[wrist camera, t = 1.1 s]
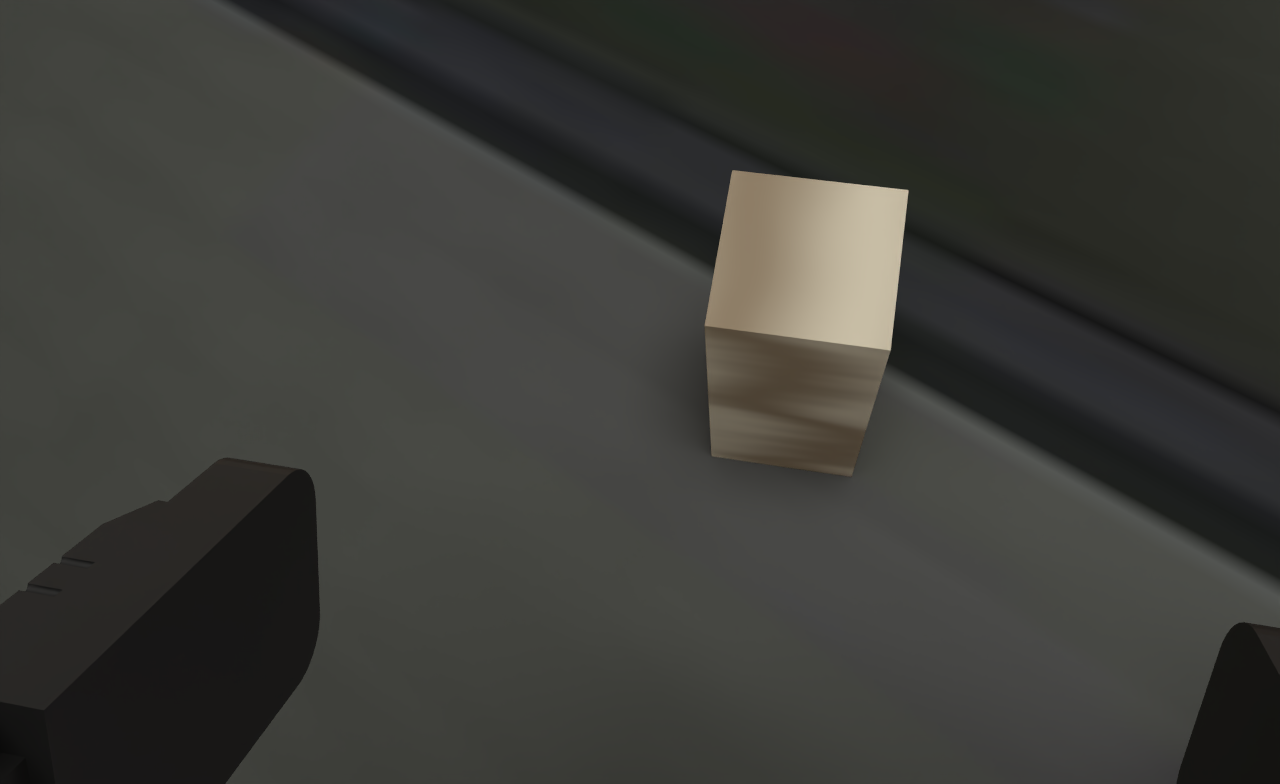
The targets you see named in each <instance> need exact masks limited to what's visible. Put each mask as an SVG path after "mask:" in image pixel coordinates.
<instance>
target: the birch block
mask: <svg viewBox="0 0 1280 784" xmlns="http://www.w3.org/2000/svg"><path fill="white" fill-rule="evenodd" d="M907 198H908V190H901V189H893V188H884V187H875V186H866V185H857V184H848V183H840V182H831V181H822V180H813V179H804V178H795V177H787V176H778V175H769V174H760V173H751V172H742V171H734V170H732V175H731V181H730V187H729V192H728V198H727V203H726V209H725V215H724V220H723V226H722V232H721V237H720V243H719V248H718V254H717V260H716V265H715V271H714V276H713V282H712V288H711V293H710V299H709V304H708V310H707V316H706V321H705V341H706V360H707V378H708V397H709V416H710V435H711V454H712V456H713V457H720V458H727V459H733V460H740V461H747V462H754V463H760V464H767V465H774V466H781V467H787V468H794V469H801V470H808V471H814V472H821V473H828V474H835V475H841V476H848V477H852V474H853V471H854V467H855V464H856V461H857V458H858V454H859V451H860V448H861V445H862V441H863V438H864V435H865V432H866V428H867V425H868V422H869V419H870V415H871V412H872V409H873V406H874V402H875V399H876V396H877V393H878V389H879V386H880V383H881V380H882V376H883V373H884V370H885V367H886V363H887V360H888V357H889V354H890V350H891V342H892V333H893V324H894V315H895V306H896V297H897V288H898V279H899V270H900V261H901V252H902V243H903V234H904V225H905V216H906V207H907Z"/></svg>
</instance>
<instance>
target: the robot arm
mask: <svg viewBox="0 0 1280 784" xmlns="http://www.w3.org/2000/svg"><path fill="white" fill-rule="evenodd" d="M319 621H320V603H319V577H318V550H317V523H316V498H315V489H314V484H313V482H312V479H311V477H310V475H309V474H308V473H307V472H306V471H304V470H302V469H296V468H290V467H284V466H277V465H271V464H265V463H259V462H252V461H246V460H240V459H234V458H223V459H220V460H218V461H217V462H215V463H214V464H213V465H211V466H210V467H209V468H208V469H207V470H205V471H204V472H203V473H202V474H201V475H199V476H198V477H197V478H196V479H195V480H193V481H192V482H191V483H190V484H189V485H187V486H186V487H185V488H184V489H183V490H181V491H180V492H179V493H178V494H177V495H175V496H174V497H173V498H172V499H171V500H169V501H168V502H165V501H159V500H158V501H155V502H153V503H151V504H149V505H146V506H144V507H142V508H139V509H137V510H135V511H132V512H130V513H128V514H125V515H123V516H121V517H118V518H116V519H114V520H111V521H109V522H107V523H104V524H102V525H101V526H100V527H98V528H97V529H96V530H95V531H93V532H92V533H91V534H89V535H88V536H87V537H86V538H84V539H83V540H82V541H81V542H79V543H78V544H77V545H76V546H74V547H73V548H72V549H71V550H69V551H68V552H67V553H65V554H64V555H63V556H62V560H61V563H60V564H57V563H53V564H52V565H50V566H49V567H48V568H47V569H45V570H44V571H43V572H42V573H40V574H39V575H38V576H36V577H35V578H34V579H33V580H31V581H30V582H29V583H28V587H27V590H26V591H20V590H19V591H18V592H16V593H15V594H14V595H12V596H11V597H10V598H9V599H7V600H6V601H5V602H4V603H2V604H1V605H0V784H225V783H226V782H227V781H228V779H229V778H230V777H231V775H232V774H233V772H234V771H235V770H236V768H237V767H238V766H239V764H240V763H241V762H242V760H243V759H244V758H245V756H246V755H247V754H248V752H249V751H250V750H251V748H252V747H253V745H254V744H255V743H256V741H257V740H258V739H259V737H260V736H261V735H262V733H263V732H264V731H265V729H266V728H267V727H268V725H269V724H270V723H271V721H272V720H273V718H274V717H275V716H276V714H277V713H278V712H279V710H280V709H281V708H282V706H283V705H284V704H285V702H286V701H287V700H288V698H289V697H290V696H291V694H292V693H293V691H294V690H295V689H296V687H297V686H298V685H299V683H300V682H301V680H302V679H303V677H304V675H305V673H306V671H307V669H308V666H309V664H310V661H311V659H312V656H313V653H314V649H315V646H316V641H317V637H318V630H319ZM1177 784H1280V628H1276V627H1270V626H1263V625H1257V624H1251V623H1245V622H1243V623H1238V624H1236V625H1234V626H1233V627H1232V628H1231V629H1230V631H1229V632H1228V633H1227V635H1226V637H1225V639H1224V641H1223V643H1222V645H1221V648H1220V651H1219V654H1218V657H1217V660H1216V663H1215V666H1214V669H1213V672H1212V675H1211V678H1210V681H1209V683H1208V686H1207V689H1206V692H1205V695H1204V698H1203V701H1202V704H1201V707H1200V710H1199V713H1198V716H1197V719H1196V722H1195V725H1194V728H1193V731H1192V734H1191V737H1190V740H1189V743H1188V746H1187V749H1186V752H1185V755H1184V758H1183V761H1182V764H1181V767H1180V771H1179V774H1178V779H1177Z"/></svg>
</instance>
